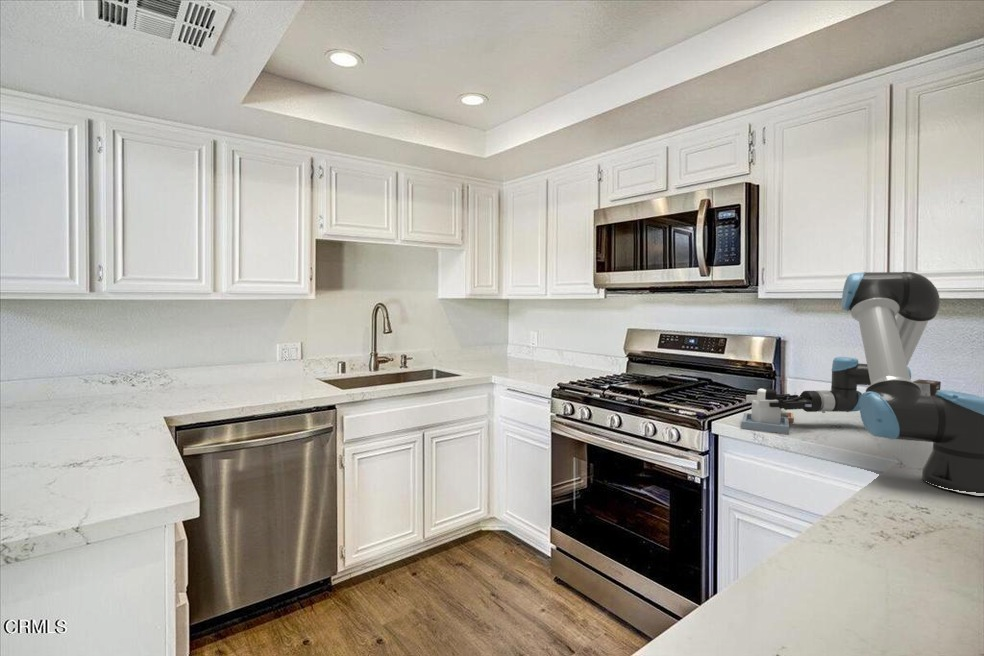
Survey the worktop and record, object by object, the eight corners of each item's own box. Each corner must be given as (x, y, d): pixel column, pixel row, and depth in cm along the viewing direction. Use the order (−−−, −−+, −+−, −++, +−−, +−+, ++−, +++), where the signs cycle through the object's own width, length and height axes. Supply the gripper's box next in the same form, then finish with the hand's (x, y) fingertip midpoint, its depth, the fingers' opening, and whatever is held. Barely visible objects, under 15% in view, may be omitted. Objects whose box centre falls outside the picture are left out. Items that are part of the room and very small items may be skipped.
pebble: (788, 420, 187) (788, 412, 186) (778, 419, 188) (779, 411, 188) (788, 418, 189) (788, 411, 189) (778, 417, 191) (779, 410, 191)
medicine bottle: (771, 419, 184) (772, 387, 183) (780, 425, 177) (782, 391, 176) (750, 419, 184) (752, 387, 184) (759, 424, 177) (761, 391, 176)
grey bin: (788, 434, 171) (789, 426, 171) (741, 428, 178) (741, 421, 178) (788, 424, 184) (788, 417, 183) (743, 419, 191) (744, 412, 190)
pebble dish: (793, 423, 184) (793, 418, 184) (762, 420, 189) (762, 415, 189) (792, 417, 193) (793, 412, 193) (763, 414, 198) (763, 409, 198)
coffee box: (932, 429, 177) (935, 384, 176) (909, 425, 182) (911, 381, 181) (938, 424, 183) (941, 381, 181) (915, 421, 188) (918, 378, 186)
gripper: (835, 418, 170) (768, 419, 170) (797, 404, 191) (738, 405, 191) (836, 397, 170) (769, 397, 169) (798, 385, 190) (738, 385, 190)
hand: (752, 401), depth 180 cm, fingers open, 8 cm apart
